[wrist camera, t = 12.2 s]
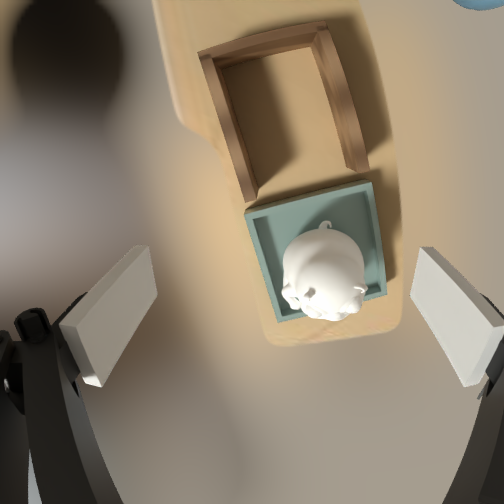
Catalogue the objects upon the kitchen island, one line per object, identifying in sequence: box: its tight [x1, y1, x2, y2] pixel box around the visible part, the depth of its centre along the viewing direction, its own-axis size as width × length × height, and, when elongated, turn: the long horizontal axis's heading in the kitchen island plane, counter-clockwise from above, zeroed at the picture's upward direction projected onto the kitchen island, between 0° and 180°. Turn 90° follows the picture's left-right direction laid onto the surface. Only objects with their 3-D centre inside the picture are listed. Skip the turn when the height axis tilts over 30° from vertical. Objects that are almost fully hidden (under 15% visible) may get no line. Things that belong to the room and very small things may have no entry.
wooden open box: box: [197, 20, 370, 203], centre depth 30 cm, size 17×14×6 cm
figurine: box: [282, 221, 368, 321], centre depth 33 cm, size 10×10×12 cm
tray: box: [244, 179, 387, 323], centre depth 38 cm, size 16×16×2 cm
